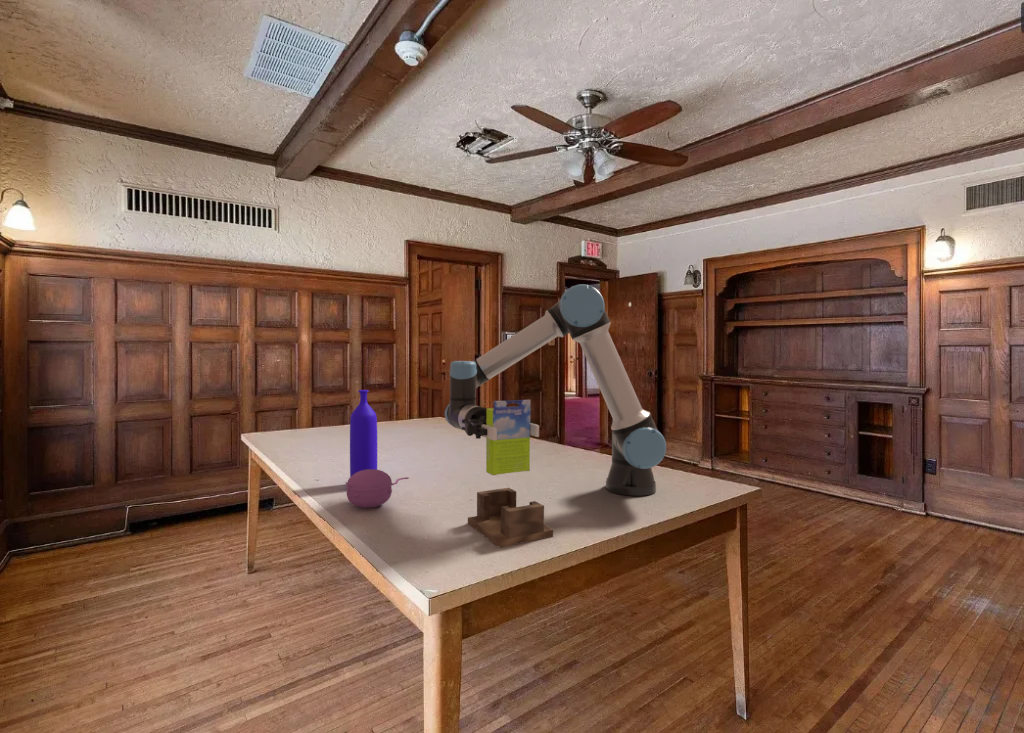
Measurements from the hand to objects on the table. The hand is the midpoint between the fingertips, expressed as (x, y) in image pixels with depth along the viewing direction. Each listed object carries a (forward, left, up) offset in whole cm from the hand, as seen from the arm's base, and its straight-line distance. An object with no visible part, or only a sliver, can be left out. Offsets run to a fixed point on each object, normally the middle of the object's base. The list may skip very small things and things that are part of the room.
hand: (517, 432), depth 117 cm
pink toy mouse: (+22, -38, -24) cm, 50 cm away
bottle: (+22, -60, -24) cm, 68 cm away
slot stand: (0, -4, -24) cm, 24 cm away
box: (0, -4, -10) cm, 11 cm away
